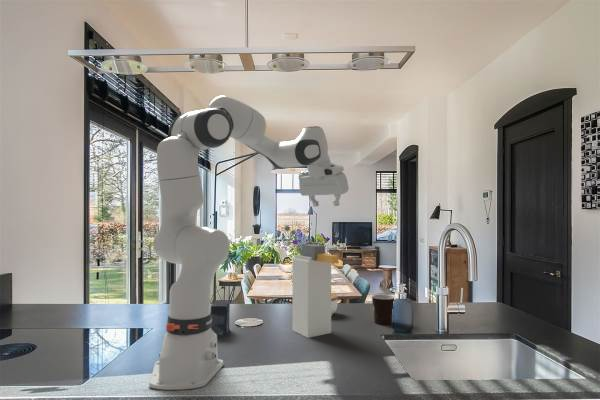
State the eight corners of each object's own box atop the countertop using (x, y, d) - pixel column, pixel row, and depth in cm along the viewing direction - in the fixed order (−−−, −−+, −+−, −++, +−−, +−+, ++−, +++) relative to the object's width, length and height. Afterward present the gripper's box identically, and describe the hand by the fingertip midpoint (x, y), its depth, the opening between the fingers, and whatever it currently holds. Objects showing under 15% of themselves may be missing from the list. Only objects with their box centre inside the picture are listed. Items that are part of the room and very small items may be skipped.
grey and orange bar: (340, 262, 135) (340, 247, 135) (330, 263, 132) (330, 248, 132) (312, 257, 149) (312, 244, 149) (301, 258, 146) (302, 244, 147)
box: (226, 336, 139) (226, 305, 139) (210, 336, 139) (210, 305, 139) (229, 329, 147) (229, 300, 147) (214, 329, 146) (214, 300, 147)
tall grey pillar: (331, 333, 143) (331, 256, 144) (307, 337, 138) (307, 257, 138) (315, 326, 151) (315, 253, 152) (292, 330, 146) (292, 255, 147)
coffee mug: (390, 327, 150) (390, 300, 151) (368, 323, 155) (368, 297, 155) (400, 320, 160) (399, 294, 160) (379, 316, 165) (379, 292, 165)
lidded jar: (313, 310, 175) (313, 289, 175) (338, 311, 173) (338, 289, 173) (310, 317, 164) (311, 294, 164) (337, 318, 162) (337, 295, 163)
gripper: (292, 173, 153) (299, 208, 156) (338, 169, 140) (344, 207, 143) (302, 170, 158) (309, 204, 161) (347, 166, 145) (353, 203, 148)
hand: (326, 205), depth 152 cm, fingers open, 8 cm apart
